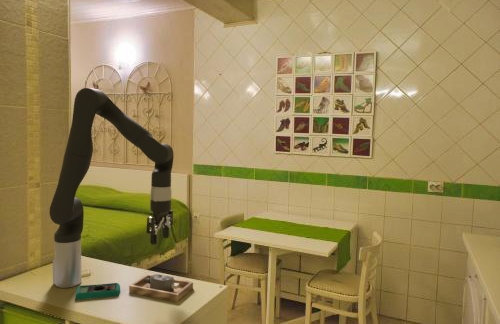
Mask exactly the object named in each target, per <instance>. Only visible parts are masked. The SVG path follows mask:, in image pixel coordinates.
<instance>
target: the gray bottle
mask: <svg viewBox="0 0 500 324" xmlns="http://www.w3.org/2000/svg"><path fill="white" fill-rule="evenodd" d="M150 275H151V276H150V278H145V280H144V282H145V283H149V284H150V288H151V289H156V290H162V291H167V292H172V291H174V289H177V288H178V287H179V284H178V283H174V279H175V278H174V277H173V276H170V275H164V274H158V273H157V274H156V273H155V274H150Z"/></svg>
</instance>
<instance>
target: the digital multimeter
mask: <svg viewBox="0 0 500 324" xmlns="http://www.w3.org/2000/svg"><path fill="white" fill-rule="evenodd" d="M120 293H121V285H120V284H119V283H118V282H112V283H101V284H87V285H78V286H77V288H76V291H75V300H76V301H79V300H80V301H81V300H89V299H101V298H111V297H112V298H113V297H118V296H119V295H120Z"/></svg>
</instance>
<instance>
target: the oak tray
mask: <svg viewBox="0 0 500 324" xmlns="http://www.w3.org/2000/svg"><path fill="white" fill-rule="evenodd" d="M151 275H152V274H149V273H148V274H146V275H144V276H142V277H141V278H139V279H137V280H135V282H133V283H131V284H130V285H128V287H129V288H128V293H129V294H136V295H139V296H146V297H151V298H155V299H160V300H161V299H162V300H164V301H165V300H166V301H171V302H176V303H179V302H180V300H182V299H183V298H184V297H185V296H186V295H187V294H189V293H190V292H191V291H192V290H194V282H193V281H188V280H184V279H183V280H182V279H178V278H177V279H176V278H174V283H178V284H179V287H178V288H177V289H174V291H172V292H167V291H162V290H156V289H151V288H150V284H149V283H145V282H144V280H145V278H150V276H151Z"/></svg>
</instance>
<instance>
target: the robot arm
mask: <svg viewBox="0 0 500 324" xmlns="http://www.w3.org/2000/svg"><path fill="white" fill-rule="evenodd" d="M72 109H73V112H72V118H71V119H72V120H71V126H70V129H69V133H68V134H69V135H68V138H67V142H66V147H65V150H64V155H63V159H62V164H61V165H62V166H61V169H60V173H59V178H58V182H57V186H56V188H55V192H54V194H53V197H52V201H51V203H50V206H49V213H48V214H49V217H50V220H51V221H52V223H54V224H56V225H59V226H58V228H57V230H56V231H55V233H54V236H53V241H54V242H53V243H54V244H53V245H54V246H53V247H54V259H52V285H54V286H55V287H57V288H60V289H61V288H62V289H66V288H73V287H77V286H79V285H80V284H81V283H82V233H83V231H84V215H85V214H84V213H85V211H84V205H83V203H82V201H81V200H80V198H78V197H76V194H77V191H78V189H79V187H80V185H81V183H82V182H83V180H84V178H86V177H85V176H86V175H87V173H88V171H89V169H90V167H91V166H90V165H91V162H92V158H93V153H94V143H93V134H92V131H93V123H94V120H95V118H96V115H98V116H99V117H101V118H103V119H104V120H106V121H108V122H109V123H110V124H111V125H112V126H113V127H115V129H116V130H117V131H118V132H119V133H120V135H122V136H123V138H125V139H126V140H127V141H129V143H131V144H132V145H134V146H135V147H136V148H138V149H139V150H140V151H141V153H143V154H144V156H146V157H147V159H149V160H150V161H152V162H153V163H154V169H153V170H152V173H151V188H150V195H149V196H150V198H149V199H150V202H149V203H150V204H149V205H150V207H149V209H150V210H149V211H150V212H152V216H147V219H146V234H147V235H150V239H149V240H150V245H157V244H158V231H159V230H160V229H161V227H163V230H162V231H163V233H162V237H163V238H164V239H168V238H170V229H171V226H173V225H174V210H172V171H173V164H174V163H173V162H174V158H175V157H174V154H175V153H174V150H173V148H172V146H171V145H170V144H168V143H160V141H158V140H157V139H155V138H154V135H153V134H152V132H150V131H148V130H147V129H146V128H145V127H143V126H142V125H141V124H139V123H138V122H137V121H135V120H134V119H133V118H131V117H130V116H129V115H128V114H126V113H125V112H124V111H123V110H122V109H121V108H120V107H118V106H117V104H115V102H114V101H113V100H112V99H110V97H109V96H108V95H107V94H106V93H105V92H104V91H102V90H100V89H97V88H92V87H83V88H81V89H79V90H78V92H76V95H75V98H74V102H73V108H72Z"/></svg>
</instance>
